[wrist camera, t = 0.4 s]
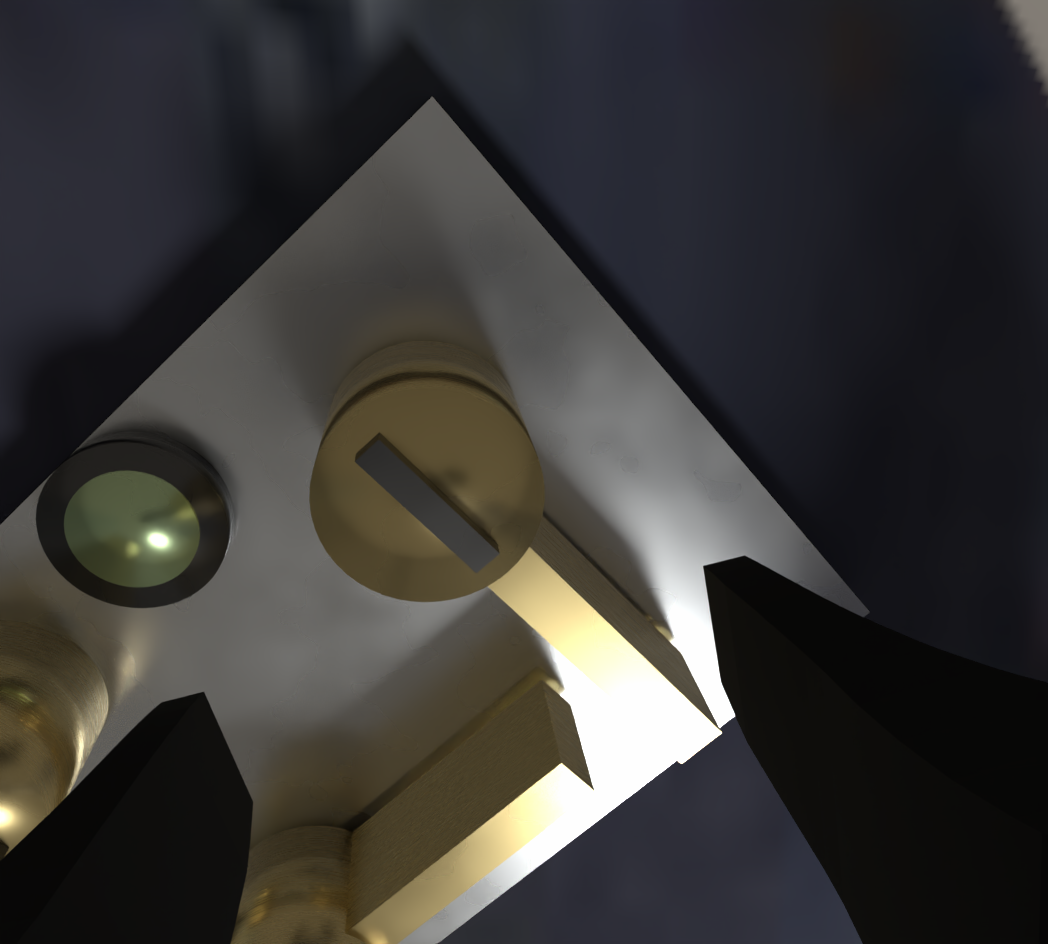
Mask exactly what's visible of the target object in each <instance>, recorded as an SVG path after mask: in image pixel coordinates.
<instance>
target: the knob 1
mask: <svg viewBox="0 0 1048 944" xmlns="http://www.w3.org/2000/svg"><path fill="white" fill-rule="evenodd" d="M309 502H310V511H311V517H312V521H313V524H314V528H315V530H316V533H317V535H318V538H319V540H320V542H321V544H322V545H323V547H324V549H325V550H326V552H327V553H328V555H329V556H330V557H331V558H332V560H333V561H334V562H335V564H336V565H337V566H339V567H340V568H341V569H342V570H343V571H344V572H345V573H346V574H347V575H348V576H350V577H351V578H352V579H354V580H355V581H356V582H358V583H360V584H361V585H363V586H365V587H367V588H368V589H370V590H372V591H375V592H377V593H380V594H382V595H385V596H388V597H392V598H395V599H400V600H406V601H412V602H438V601H446V600H451V599H456V598H460V597H463V596H466V595H470V594H472V593H474V592H477V591H479V590H481V589H483V588H485V587H487V586H488V587H489V588H490V589H491V590H492V591H493V592H494V593H495V594H496V595H498V596H499V597H500V598H501V599H502V600H503V601H504V602H505V603H506V604H507V605H508V606H510V607H511V608H512V609H513V610H514V611H515V612H516V613H517V614H518V615H519V616H520V617H522V618H523V619H524V620H525V621H526V622H527V623H528V624H529V625H530V626H531V627H532V628H534V629H535V630H536V631H537V632H538V633H539V634H540V635H541V636H542V637H543V638H544V639H546V640H547V641H548V642H549V643H550V644H551V645H552V646H553V647H554V648H555V649H557V650H558V651H559V652H560V653H561V654H562V655H563V656H564V657H565V658H566V659H567V660H569V661H570V662H571V663H572V664H573V665H574V666H575V667H576V668H577V669H578V670H579V671H581V672H582V673H583V674H584V675H585V676H586V677H587V678H588V679H589V680H590V681H591V682H593V683H594V684H595V685H596V686H597V687H598V688H599V689H600V690H601V691H602V692H603V693H605V694H606V695H607V696H608V697H609V698H610V699H611V700H612V701H613V702H614V703H616V704H617V705H618V706H619V707H620V708H621V709H622V710H623V711H624V712H625V713H626V714H628V715H629V716H630V717H631V718H632V719H633V720H634V721H635V722H636V723H637V724H638V725H640V726H641V727H642V728H643V729H644V730H645V731H646V732H647V733H648V734H649V735H650V736H652V737H653V738H654V739H655V740H656V741H657V742H658V743H659V744H660V745H661V746H662V747H664V748H665V749H666V750H667V751H668V752H669V753H670V754H671V755H672V756H673V757H675V758H676V759H677V760H678V761H679V762H680V763H681V764H682V763H683V762H684V761H686V760H687V759H688V758H690V757H691V756H692V755H694V754H695V753H696V752H698V751H699V750H700V749H701V748H703V747H704V746H705V745H707V744H708V743H709V742H711V741H712V740H713V739H715V738H716V737H717V736H719V735H720V734H721V733H722V732H721V730H720V728H719V726H718V724H717V722H716V720H715V718H714V716H713V714H712V712H711V710H710V708H709V706H708V704H707V702H706V700H705V698H704V696H703V694H702V693H701V691H700V689H699V687H698V685H697V683H696V681H695V679H694V677H693V675H692V673H691V671H690V669H689V667H688V665H687V663H686V661H685V659H684V657H683V655H682V653H681V652H680V651H679V650H678V649H677V648H676V647H675V646H674V645H673V644H672V643H671V642H670V641H669V640H668V639H667V638H666V637H665V636H664V635H663V634H662V633H661V632H660V631H659V630H658V629H657V628H656V627H655V626H654V625H653V624H652V623H651V622H650V621H649V620H648V619H647V618H646V617H645V616H644V615H642V614H641V613H640V612H639V611H638V610H637V609H636V608H635V607H634V606H633V605H632V604H631V603H630V602H629V601H628V600H627V599H626V598H625V597H624V596H623V595H622V594H621V593H620V592H619V591H618V590H617V589H616V588H615V587H614V586H613V585H612V584H611V583H610V582H609V581H608V580H607V579H606V578H605V577H604V576H603V575H602V574H601V573H600V572H599V571H598V570H597V569H596V568H595V567H594V566H593V565H592V564H591V563H590V562H589V561H588V560H587V559H586V558H585V557H584V556H583V555H582V554H581V553H580V552H579V551H578V550H577V549H576V548H575V547H574V546H573V545H572V544H571V543H570V542H569V541H568V540H567V539H566V538H565V537H564V536H563V535H562V534H561V533H560V532H559V531H558V530H557V529H556V528H555V527H554V526H553V525H552V524H551V523H550V522H549V521H548V520H547V519H546V518H545V517H544V516H543V509H544V502H545V486H544V478H543V472H542V469H541V465H540V462H539V459H538V456H537V454H536V451H535V448H534V446H533V443H532V440H531V438H530V435H529V432H528V430H527V427H526V425H525V422H524V419H523V417H522V414H521V411H520V409H519V406H518V404H517V401H516V399H515V397H514V394H513V392H512V390H511V389H510V387H509V385H508V384H507V382H506V381H505V379H504V378H503V377H502V376H501V375H500V373H499V372H498V371H497V370H496V369H495V368H494V367H493V366H492V365H490V364H489V363H488V362H487V361H485V360H484V359H483V358H481V357H480V356H478V355H477V354H475V353H473V352H471V351H469V350H467V349H465V348H462V347H459V346H456V345H454V344H449V343H445V342H440V341H429V340H424V341H410V342H404V343H399V344H396V345H393V346H389V347H387V348H385V349H382V350H380V351H378V352H376V353H374V354H373V355H371V356H369V357H368V358H366V359H365V360H363V361H362V362H361V363H360V364H359V365H357V366H356V367H355V368H354V369H353V370H352V371H351V372H350V373H349V374H348V376H347V377H346V378H345V379H344V381H343V382H342V384H341V385H340V387H339V388H338V390H337V392H336V394H335V396H334V398H333V401H332V404H331V407H330V410H329V413H328V417H327V421H326V424H325V428H324V431H323V435H322V439H321V442H320V446H319V449H318V453H317V457H316V460H315V464H314V467H313V471H312V476H311V481H310V492H309Z"/></svg>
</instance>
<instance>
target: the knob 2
mask: <svg viewBox="0 0 1048 944" xmlns="http://www.w3.org/2000/svg"><path fill="white" fill-rule="evenodd" d="M593 792H595V791H594V787H593V784H592V780H591V776H590V773H589V769H588V765H587V762H586V758H585V755H584V751H583V747H582V744H581V740H580V736H579V733H578V729H577V726H576V722H575V718H574V715H573V711H572V707H571V705H570V704H569V703H568V702H567V701H566V700H565V699H564V698H563V697H561V696H560V695H559V694H558V693H557V692H556V691H555V690H554V689H552V688H551V687H550V686H549V685H548V684H547V683H546V682H545V681H543V680H542V679H540V680H539V681H538V682H537V683H536V684H534V685H533V686H532V687H531V688H529V689H528V690H527V691H526V692H524V693H523V694H522V695H521V696H520V697H518V698H517V699H516V700H515V701H513V702H512V703H511V704H510V705H508V706H507V707H506V708H505V709H504V710H502V711H501V712H500V713H499V714H497V715H496V716H495V717H494V718H492V719H491V720H490V721H489V722H488V723H486V724H485V725H484V726H483V727H481V728H480V729H479V730H478V731H477V732H475V733H474V734H473V735H472V736H470V737H469V738H468V739H467V740H465V741H464V742H463V743H462V744H461V745H459V746H458V747H457V748H456V749H454V750H453V751H452V752H451V753H449V754H448V755H447V756H446V757H445V758H443V759H442V760H441V761H440V762H438V763H437V764H436V765H435V766H433V767H432V768H431V769H430V770H429V771H427V772H426V773H425V774H424V775H422V776H421V777H420V778H419V779H417V780H416V781H415V782H414V783H413V784H411V785H410V786H409V787H408V788H406V789H405V790H404V791H403V792H402V793H400V794H399V795H398V796H397V797H395V798H394V799H393V800H392V801H390V802H389V803H388V804H387V805H386V806H384V807H383V808H382V809H381V810H379V811H378V812H377V813H376V814H374V815H373V816H372V817H371V818H370V819H368V820H367V821H366V822H365V823H363V824H362V825H361V826H360V827H358V828H357V829H356V830H355V831H354V832H352V831H349V830H346V829H342V828H338V827H332V826H303V827H297V828H292V829H289V830H285V831H282V832H279V833H277V834H275V835H272V836H270V837H269V838H267V839H265V840H263V841H262V842H260V843H259V844H258V845H256V846H255V847H254V848H253V849H252V850H251V851H250V852H249V858H248V868H247V874H246V879H245V883H244V888H243V893H242V897H241V901H240V906H239V910H238V914H237V919H236V923H235V928H234V932H233V936H232V940H231V944H398V943H399V942H401V941H402V940H403V939H404V938H406V937H407V936H408V935H410V934H411V933H412V932H414V931H415V930H416V929H417V928H419V927H420V926H421V925H423V924H424V923H425V922H426V921H428V920H429V919H430V918H432V917H433V916H434V915H436V914H437V913H438V912H439V911H441V910H442V909H443V908H445V907H446V906H447V905H448V904H450V903H451V902H452V901H454V900H455V899H456V898H457V897H459V896H460V895H461V894H463V893H464V892H465V891H467V890H468V889H469V888H470V887H472V886H473V885H474V884H476V883H477V882H478V881H479V880H481V879H482V878H483V877H485V876H486V875H487V874H489V873H490V872H491V871H492V870H494V869H495V868H496V867H498V866H499V865H500V864H501V863H503V862H504V861H505V860H507V859H508V858H509V857H510V856H512V855H513V854H514V853H516V852H517V851H518V850H520V849H521V848H522V847H523V846H525V845H526V844H527V843H529V842H530V841H531V840H532V839H534V838H535V837H536V836H538V835H539V834H540V833H542V832H543V831H544V830H545V829H547V828H548V827H549V826H551V825H552V824H553V823H554V822H556V821H557V820H558V819H560V818H561V817H562V816H563V815H565V814H566V813H567V812H569V811H570V810H571V809H573V808H574V807H575V806H576V805H578V804H579V803H580V802H582V801H583V800H584V799H585V798H587V797H588V796H589V795H591V794H592V793H593Z"/></svg>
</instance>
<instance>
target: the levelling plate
mask: <svg viewBox="0 0 1048 944" xmlns="http://www.w3.org/2000/svg"><path fill="white" fill-rule="evenodd" d="M424 340H429V341H440V342H445V343H449V344H454V345H456V346H459V347H462V348H465V349H467V350H469V351H471V352H473V353H475V354H477V355H478V356H480V357H481V358H483V359H484V360H485V361H487V362H488V363H489V364H490V365H492V366H493V367H494V368H495V369H496V370H497V371H498V372H499V373H500V375H501V376H502V377H503V378H504V379H505V381H506V382H507V384H508V385H509V387H510V389H511V390H512V392H513V394H514V397H515V399H516V401H517V404H518V406H519V409H520V411H521V414H522V417H523V419H524V422H525V425H526V427H527V430H528V432H529V435H530V438H531V440H532V443H533V446H534V448H535V451H536V454H537V456H538V459H539V462H540V465H541V469H542V472H543V478H544V486H545V502H544V509H543V516H544V517H545V518H546V519H547V520H548V521H549V522H550V523H551V524H552V525H553V526H554V527H555V528H556V529H557V530H558V531H559V532H560V533H561V534H562V535H563V536H564V537H565V538H566V539H567V540H568V541H569V542H570V543H571V544H572V545H573V546H574V547H575V548H576V549H577V550H578V551H579V552H580V553H581V554H582V555H583V556H584V557H585V558H586V559H587V560H588V561H589V562H590V563H591V564H592V565H593V566H594V567H595V568H596V569H597V570H598V571H599V572H600V573H601V574H602V575H603V576H604V577H605V578H606V579H607V580H608V581H609V582H610V583H611V584H612V585H613V586H614V587H615V588H616V589H617V590H618V591H619V592H620V593H621V594H622V595H623V596H624V597H625V598H626V599H627V600H628V601H629V602H630V603H631V604H632V605H633V606H634V607H635V608H636V609H637V610H638V611H639V612H640V613H641V614H642V615H644V616H645V617H646V618H647V619H648V620H649V621H650V622H651V623H652V624H653V625H654V626H655V627H656V628H657V629H658V630H659V631H660V632H661V633H662V634H663V635H664V636H665V637H666V638H667V639H668V640H669V641H670V642H671V643H672V644H673V645H674V646H675V647H676V648H677V649H678V650H679V651H680V652H681V653H682V655H683V657H684V659H685V661H686V663H687V665H688V667H689V669H690V671H691V673H692V675H693V677H694V679H695V681H696V683H697V685H698V687H699V689H700V691H701V693H702V694H703V696H704V698H705V700H706V702H707V704H708V706H709V708H710V710H711V712H712V714H713V716H714V718H715V720H716V722H717V724H718V726H719V728H720V727H721V726H722V725H723V724H725V723H726V722H727V721H729V720H730V719H731V718H733V717H734V716H735V714H734V712H733V709H732V707H731V705H730V702H729V700H728V698H727V696H726V693H725V691H724V689H723V686H722V684H721V680H720V674H719V667H718V661H717V654H716V648H715V641H714V635H713V628H712V621H711V615H710V608H709V602H708V595H707V589H706V582H705V576H704V569H703V566H704V565H708V564H712V563H716V562H720V561H724V560H728V559H732V558H736V557H740V556H744V555H745V556H747V557H749V558H751V559H753V560H755V561H757V562H759V563H760V564H762V565H764V566H766V567H768V568H770V569H771V570H773V571H775V572H777V573H779V574H781V575H782V576H784V577H786V578H788V579H790V580H792V581H793V582H795V583H797V584H799V585H801V586H803V587H804V588H806V589H808V590H810V591H812V592H814V593H816V594H818V595H820V596H821V597H823V598H825V599H827V600H829V601H831V602H833V603H835V604H837V605H839V606H841V607H843V608H845V609H847V610H849V611H851V612H853V613H855V614H858V615H860V616H862V617H865V616H866V615H867V614H868V613H870V612H869V611H868V609H867V608H866V607H865V606H864V605H863V603H862V602H861V601H860V600H859V599H858V598H857V596H856V595H855V594H854V593H853V592H852V590H851V589H850V588H849V587H848V586H847V585H846V583H845V582H844V581H843V580H842V579H841V578H840V576H839V575H838V574H837V573H836V572H835V570H834V569H833V568H832V567H831V566H830V565H829V563H828V562H827V561H826V560H825V559H824V557H823V556H822V555H821V554H820V553H819V552H818V550H817V549H816V548H815V547H814V546H813V545H812V543H811V542H810V541H809V540H808V539H807V537H806V536H805V535H804V534H803V533H802V532H801V530H800V529H799V528H798V527H797V526H796V524H795V523H794V522H793V521H792V520H791V519H790V517H789V516H788V515H787V514H786V513H785V512H784V510H783V509H782V508H781V507H780V506H779V504H778V503H777V502H776V501H775V500H774V499H773V497H772V496H771V495H770V494H769V493H768V491H767V490H766V489H765V488H764V487H763V486H762V484H761V483H760V482H759V481H758V480H757V479H756V477H755V476H754V475H753V474H752V473H751V471H750V470H749V469H748V468H747V467H746V466H745V464H744V463H743V462H742V461H741V460H740V458H739V457H738V456H737V455H736V454H735V453H734V451H733V450H732V449H731V448H730V447H729V446H728V444H727V443H726V442H725V441H724V440H723V438H722V437H721V436H720V435H719V434H718V433H717V431H716V430H715V429H714V428H713V427H712V425H711V424H710V423H709V422H708V421H707V420H706V418H705V417H704V416H703V415H702V414H701V412H700V411H699V410H698V409H697V408H696V407H695V405H694V404H693V403H692V402H691V401H690V400H689V398H688V397H687V396H686V395H685V394H684V392H683V391H682V390H681V389H680V388H679V387H678V385H677V384H676V383H675V382H674V381H673V379H672V378H671V377H670V376H669V375H668V374H667V372H666V371H665V370H664V369H663V368H662V367H661V365H660V364H659V363H658V362H657V361H656V359H655V358H654V357H653V356H652V355H651V354H650V352H649V351H648V350H647V349H646V348H645V346H644V345H643V344H642V343H641V342H640V341H639V339H638V338H637V337H636V336H635V335H634V334H633V332H632V331H631V330H630V329H629V328H628V326H627V325H626V324H625V323H624V322H623V321H622V319H621V318H620V317H619V316H618V315H617V313H616V312H615V311H614V310H613V309H612V308H611V306H610V305H609V304H608V303H607V302H606V301H605V299H604V298H603V297H602V296H601V295H600V293H599V292H598V291H597V290H596V289H595V288H594V286H593V285H592V284H591V283H590V282H589V280H588V279H587V278H586V277H585V276H584V275H583V273H582V272H581V271H580V270H579V269H578V268H577V266H576V265H575V264H574V263H573V262H572V260H571V259H570V258H569V257H568V256H567V255H566V253H565V252H564V251H563V250H562V249H561V247H560V246H559V245H558V244H557V243H556V242H555V240H554V239H553V238H552V237H551V236H550V235H549V233H548V232H547V231H546V230H545V229H544V227H543V226H542V225H541V224H540V223H539V222H538V220H537V219H536V218H535V217H534V216H533V214H532V213H531V212H530V211H529V210H528V209H527V207H526V206H525V205H524V204H523V203H522V202H521V200H520V199H519V198H518V197H517V196H516V194H515V193H514V192H513V191H512V190H511V189H510V187H509V186H508V185H507V184H506V183H505V181H504V180H503V179H502V178H501V177H500V176H499V174H498V173H497V172H496V171H495V170H494V168H493V167H492V166H491V165H490V164H489V163H488V161H487V160H486V159H485V158H484V157H483V156H482V154H481V153H480V152H479V151H478V150H477V148H476V147H475V146H474V145H473V144H472V143H471V141H470V140H469V139H468V138H467V137H466V135H465V134H464V133H463V132H462V131H461V130H460V128H459V127H458V126H457V125H456V124H455V123H454V121H453V120H452V119H451V118H450V117H449V115H448V114H447V113H446V112H445V111H444V110H443V108H442V107H441V106H440V105H439V104H438V102H437V101H436V100H435V99H434V98H433V97H431V98H430V99H429V100H428V101H427V102H426V103H425V104H424V105H423V106H422V107H421V108H420V109H419V110H418V111H417V112H416V113H415V114H414V115H413V116H412V117H411V118H410V119H409V120H408V121H407V122H406V123H405V124H404V125H403V126H402V127H401V128H400V129H399V130H398V131H397V132H396V133H395V134H394V135H393V136H392V137H391V138H390V139H389V140H388V141H387V142H386V143H385V144H384V145H383V146H382V147H381V148H380V149H379V150H378V151H377V152H376V153H375V154H374V155H373V156H372V157H371V158H370V159H369V160H368V161H367V162H366V163H365V164H364V165H363V166H362V167H361V168H360V169H359V170H358V171H357V172H356V173H354V174H353V175H352V176H351V177H350V178H349V179H348V180H347V181H346V182H345V183H344V184H343V185H342V186H341V187H340V188H339V189H338V190H337V191H336V192H335V193H334V194H333V195H332V196H331V197H330V198H329V199H328V200H327V201H326V202H325V203H324V204H323V205H322V206H321V207H320V208H319V209H318V210H317V211H316V212H315V213H314V214H313V215H312V216H311V217H310V218H309V219H308V220H307V221H306V222H305V223H304V224H303V225H302V226H301V227H300V228H299V229H298V230H297V231H296V232H295V233H294V234H293V235H292V236H291V237H290V238H289V239H288V240H287V241H286V242H285V243H284V244H283V245H282V246H281V247H280V248H279V249H278V250H277V251H276V252H275V253H274V254H273V255H272V256H271V257H270V258H269V259H268V260H267V261H266V262H265V263H264V264H263V265H262V266H261V267H260V268H259V269H258V270H257V271H256V272H255V273H254V274H253V275H252V276H251V277H250V278H249V279H248V280H247V281H246V282H245V283H244V284H243V285H242V286H241V287H240V288H239V289H238V290H237V291H236V292H234V293H233V294H232V295H231V296H230V297H229V298H228V299H227V300H226V301H225V302H224V303H223V304H222V305H221V306H220V307H219V308H218V309H217V310H216V311H215V312H214V313H213V314H212V315H211V316H210V317H209V318H208V319H207V320H206V321H205V322H204V323H203V324H202V325H201V326H200V327H199V328H198V329H197V330H196V331H195V332H194V333H193V334H192V335H191V336H190V337H189V338H188V339H187V340H186V341H185V342H184V343H183V344H182V345H181V346H180V347H179V348H178V349H177V350H176V351H175V352H174V353H173V354H172V355H171V356H170V357H169V358H168V359H167V360H166V361H165V362H164V363H163V364H162V365H161V366H160V367H159V368H158V369H157V370H156V371H155V372H154V373H153V374H152V375H151V376H150V377H149V378H148V379H147V380H146V381H145V382H144V383H143V384H142V385H141V386H140V387H139V388H138V389H137V390H136V391H135V392H134V393H133V394H132V395H131V396H130V397H129V398H128V399H127V400H126V401H125V402H124V403H123V404H122V405H121V406H120V407H119V408H118V409H117V410H116V411H115V412H113V413H112V414H111V415H110V416H109V417H108V418H107V419H106V420H105V421H104V422H103V423H102V424H101V425H100V426H99V427H98V428H97V429H96V430H95V431H94V432H93V433H92V434H91V435H90V436H89V437H88V438H87V439H86V440H85V441H84V442H83V443H82V444H81V445H80V446H79V447H78V448H77V449H76V450H75V451H74V452H73V453H72V454H71V455H70V456H69V457H68V458H67V459H66V460H65V461H64V462H63V463H62V464H61V465H60V466H59V467H58V468H57V469H56V470H55V471H54V472H53V473H52V474H51V475H50V476H49V477H48V478H47V479H46V480H45V481H44V482H43V483H42V484H41V485H40V486H39V487H38V488H37V489H36V490H35V491H34V492H33V493H32V494H31V495H30V496H29V497H28V498H27V499H26V500H25V501H24V502H23V503H22V504H21V505H20V506H19V507H18V508H17V509H16V510H15V511H14V512H13V513H12V514H11V515H10V516H9V517H8V518H7V519H6V520H5V521H4V522H3V523H2V524H1V525H0V861H1V860H2V859H3V858H4V857H5V856H6V855H7V854H8V853H9V852H10V851H11V850H12V849H13V848H14V847H15V846H16V845H17V844H18V843H19V842H20V841H21V840H22V839H24V838H25V837H26V836H27V835H28V834H29V833H30V832H31V831H32V830H33V829H34V828H35V827H36V826H37V825H38V824H39V823H40V822H41V821H42V820H43V819H44V818H45V817H46V816H48V815H49V814H50V813H51V812H52V811H53V810H54V809H55V808H56V807H57V806H58V805H59V804H60V803H61V802H62V801H63V800H64V799H65V798H66V797H67V795H68V794H69V793H70V792H71V791H72V790H73V789H74V788H75V787H76V786H77V785H78V784H79V783H80V782H81V781H82V780H83V779H84V778H85V777H86V776H87V775H88V774H89V773H90V772H91V771H92V770H93V769H94V768H95V767H96V766H97V765H98V764H99V763H100V762H101V761H102V760H103V759H104V758H105V757H106V755H107V754H108V753H109V752H110V751H111V750H112V749H113V748H114V747H115V746H116V745H117V744H118V743H119V742H120V741H121V740H122V739H123V738H124V737H125V736H126V735H127V734H128V733H129V732H130V731H131V730H132V729H133V728H134V727H135V726H136V725H137V724H138V723H139V722H140V721H141V720H142V719H143V718H144V717H145V716H146V715H147V714H148V713H150V712H151V711H152V710H153V709H154V708H155V707H156V706H158V705H159V704H160V703H161V702H165V701H169V700H173V699H176V698H180V697H184V696H188V695H192V694H196V693H200V692H204V693H205V695H206V697H207V699H208V702H209V704H210V706H211V708H212V711H213V713H214V715H215V717H216V720H217V722H218V724H219V726H220V729H221V731H222V733H223V735H224V738H225V740H226V742H227V744H228V746H229V749H230V751H231V753H232V755H233V758H234V760H235V762H236V764H237V767H238V769H239V771H240V773H241V776H242V778H243V780H244V782H245V785H246V787H247V789H248V791H249V793H250V796H251V798H252V800H253V813H252V827H251V840H250V849H249V852H250V851H251V850H252V849H253V848H254V847H255V846H256V845H258V844H259V843H260V842H262V841H263V840H265V839H267V838H269V837H270V836H272V835H275V834H277V833H279V832H282V831H285V830H289V829H292V828H297V827H303V826H332V827H338V828H342V829H346V830H349V831H352V832H354V831H355V830H356V829H357V828H358V827H360V826H361V825H362V824H363V823H365V822H366V821H367V820H368V819H370V818H371V817H372V816H373V815H374V814H376V813H377V812H378V811H379V810H381V809H382V808H383V807H384V806H386V805H387V804H388V803H389V802H390V801H392V800H393V799H394V798H395V797H397V796H398V795H399V794H400V793H402V792H403V791H404V790H405V789H406V788H408V787H409V786H410V785H411V784H413V783H414V782H415V781H416V780H417V779H419V778H420V777H421V776H422V775H424V774H425V773H426V772H427V771H429V770H430V769H431V768H432V767H433V766H435V765H436V764H437V763H438V762H440V761H441V760H442V759H443V758H445V757H446V756H447V755H448V754H449V753H451V752H452V751H453V750H454V749H456V748H457V747H458V746H459V745H461V744H462V743H463V742H464V741H465V740H467V739H468V738H469V737H470V736H472V735H473V734H474V733H475V732H477V731H478V730H479V729H480V728H481V727H483V726H484V725H485V724H486V723H488V722H489V721H490V720H491V719H492V718H494V717H495V716H496V715H497V714H499V713H500V712H501V711H502V710H504V709H505V708H506V707H507V706H508V705H510V704H511V703H512V702H513V701H515V700H516V699H517V698H518V697H520V696H521V695H522V694H523V693H524V692H526V691H527V690H528V689H529V688H531V687H532V686H533V685H534V684H536V683H537V682H538V681H539V680H540V679H542V680H543V681H545V682H546V683H547V684H548V685H549V686H550V687H551V688H552V689H554V690H555V691H556V692H557V693H558V694H559V695H560V696H561V697H563V698H564V699H565V700H566V701H567V702H568V703H569V704H570V705H571V707H572V711H573V715H574V718H575V722H576V726H577V729H578V733H579V736H580V740H581V744H582V747H583V751H584V755H585V758H586V762H587V765H588V769H589V773H590V776H591V780H592V784H593V787H594V791H595V792H593V793H592V794H591V795H589V796H588V797H587V798H585V799H584V800H583V801H582V802H580V803H579V804H578V805H576V806H575V807H574V808H573V809H571V810H570V811H569V812H567V813H566V814H565V815H563V816H562V817H561V818H560V819H558V820H557V821H556V822H554V823H553V824H552V825H551V826H549V827H548V828H547V829H545V830H544V831H543V832H542V833H540V834H539V835H538V836H536V837H535V838H534V839H532V840H531V841H530V842H529V843H527V844H526V845H525V846H523V847H522V848H521V849H520V850H518V851H517V852H516V853H514V854H513V855H512V856H510V857H509V858H508V859H507V860H505V861H504V862H503V863H501V864H500V865H499V866H498V867H496V868H495V869H494V870H492V871H491V872H490V873H489V874H487V875H486V876H485V877H483V878H482V879H481V880H479V881H478V882H477V883H476V884H474V885H473V886H472V887H470V888H469V889H468V890H467V891H465V892H464V893H463V894H461V895H460V896H459V897H457V898H456V899H455V900H454V901H452V902H451V903H450V904H448V905H447V906H446V907H445V908H443V909H442V910H441V911H439V912H438V913H437V914H436V915H434V916H433V917H432V918H430V919H429V920H428V921H426V922H425V923H424V924H423V925H421V926H420V927H419V928H417V929H416V930H415V931H414V932H412V933H411V934H410V935H408V936H407V937H406V938H404V939H403V940H402V941H401V942H399V943H398V944H437V943H439V942H440V941H441V940H443V939H444V938H445V937H447V936H448V935H449V934H450V933H452V932H453V931H454V930H456V929H457V928H458V927H460V926H461V925H462V924H464V923H465V922H466V921H467V920H469V919H470V918H471V917H473V916H474V915H475V914H477V913H478V912H479V911H481V910H482V909H483V908H484V907H486V906H487V905H488V904H490V903H491V902H492V901H494V900H495V899H496V898H497V897H499V896H500V895H501V894H503V893H504V892H505V891H507V890H508V889H509V888H511V887H512V886H513V885H514V884H516V883H517V882H518V881H520V880H521V879H522V878H524V877H525V876H526V875H528V874H529V873H530V872H531V871H533V870H534V869H535V868H537V867H538V866H539V865H541V864H542V863H543V862H545V861H546V860H547V859H548V858H550V857H551V856H552V855H554V854H555V853H556V852H558V851H559V850H560V849H561V848H563V847H564V846H565V845H567V844H568V843H569V842H571V841H572V840H573V839H575V838H576V837H577V836H578V835H580V834H581V833H582V832H584V831H585V830H586V829H588V828H589V827H590V826H592V825H593V824H594V823H595V822H597V821H598V820H599V819H601V818H602V817H603V816H605V815H606V814H607V813H609V812H610V811H611V810H612V809H614V808H615V807H616V806H618V805H619V804H620V803H622V802H623V801H624V800H626V799H627V798H628V797H629V796H631V795H632V794H633V793H635V792H636V791H637V790H639V789H640V788H641V787H642V786H644V785H645V784H646V783H648V782H649V781H650V780H652V779H653V778H654V777H656V776H657V775H658V774H659V773H661V772H662V771H663V770H665V769H666V768H667V767H669V766H670V765H671V764H673V763H674V762H675V761H676V760H677V759H676V758H675V757H673V756H672V755H671V754H670V753H669V752H668V751H667V750H666V749H665V748H664V747H662V746H661V745H660V744H659V743H658V742H657V741H656V740H655V739H654V738H653V737H652V736H650V735H649V734H648V733H647V732H646V731H645V730H644V729H643V728H642V727H641V726H640V725H638V724H637V723H636V722H635V721H634V720H633V719H632V718H631V717H630V716H629V715H628V714H626V713H625V712H624V711H623V710H622V709H621V708H620V707H619V706H618V705H617V704H616V703H614V702H613V701H612V700H611V699H610V698H609V697H608V696H607V695H606V694H605V693H603V692H602V691H601V690H600V689H599V688H598V687H597V686H596V685H595V684H594V683H593V682H591V681H590V680H589V679H588V678H587V677H586V676H585V675H584V674H583V673H582V672H581V671H579V670H578V669H577V668H576V667H575V666H574V665H573V664H572V663H571V662H570V661H569V660H567V659H566V658H565V657H564V656H563V655H562V654H561V653H560V652H559V651H558V650H557V649H555V648H554V647H553V646H552V645H551V644H550V643H549V642H548V641H547V640H546V639H544V638H543V637H542V636H541V635H540V634H539V633H538V632H537V631H536V630H535V629H534V628H532V627H531V626H530V625H529V624H528V623H527V622H526V621H525V620H524V619H523V618H522V617H520V616H519V615H518V614H517V613H516V612H515V611H514V610H513V609H512V608H511V607H510V606H508V605H507V604H506V603H505V602H504V601H503V600H502V599H501V598H500V597H499V596H498V595H496V594H495V593H494V592H493V591H492V590H491V589H490V588H489V587H488V586H487V587H485V588H483V589H481V590H479V591H477V592H474V593H472V594H470V595H466V596H463V597H460V598H456V599H451V600H446V601H438V602H412V601H406V600H400V599H395V598H392V597H388V596H385V595H382V594H380V593H377V592H375V591H372V590H370V589H368V588H367V587H365V586H363V585H361V584H360V583H358V582H356V581H355V580H354V579H352V578H351V577H350V576H348V575H347V574H346V573H345V572H344V571H343V570H342V569H341V568H340V567H339V566H337V565H336V564H335V562H334V561H333V560H332V558H331V557H330V556H329V555H328V553H327V552H326V550H325V549H324V547H323V545H322V544H321V542H320V540H319V538H318V535H317V533H316V530H315V528H314V524H313V521H312V517H311V511H310V502H309V492H310V481H311V476H312V471H313V467H314V464H315V460H316V457H317V453H318V449H319V446H320V442H321V439H322V435H323V431H324V428H325V424H326V421H327V417H328V413H329V410H330V407H331V404H332V401H333V398H334V396H335V394H336V392H337V390H338V388H339V387H340V385H341V384H342V382H343V381H344V379H345V378H346V377H347V376H348V374H349V373H350V372H351V371H352V370H353V369H354V368H355V367H356V366H357V365H359V364H360V363H361V362H362V361H363V360H365V359H366V358H368V357H369V356H371V355H373V354H374V353H376V352H378V351H380V350H382V349H385V348H387V347H389V346H393V345H396V344H399V343H404V342H410V341H424Z"/></svg>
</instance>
